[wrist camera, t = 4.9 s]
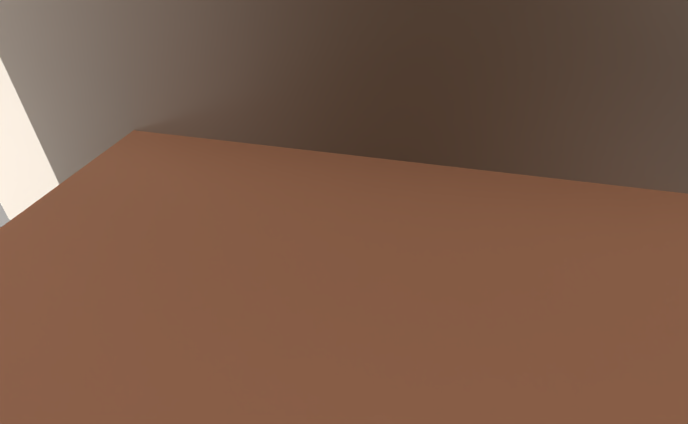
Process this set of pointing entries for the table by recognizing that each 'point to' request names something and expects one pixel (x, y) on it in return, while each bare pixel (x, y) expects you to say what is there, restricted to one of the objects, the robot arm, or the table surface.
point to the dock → (19, 156)
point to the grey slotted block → (366, 80)
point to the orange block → (339, 293)
